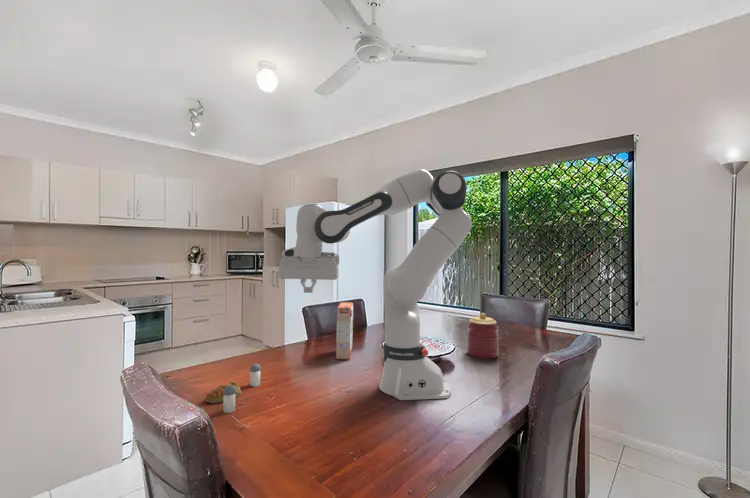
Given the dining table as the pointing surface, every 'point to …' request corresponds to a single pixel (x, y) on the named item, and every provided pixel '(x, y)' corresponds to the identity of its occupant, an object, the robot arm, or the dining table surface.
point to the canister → (482, 337)
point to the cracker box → (344, 330)
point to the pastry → (221, 393)
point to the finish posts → (231, 390)
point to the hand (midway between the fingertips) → (308, 292)
